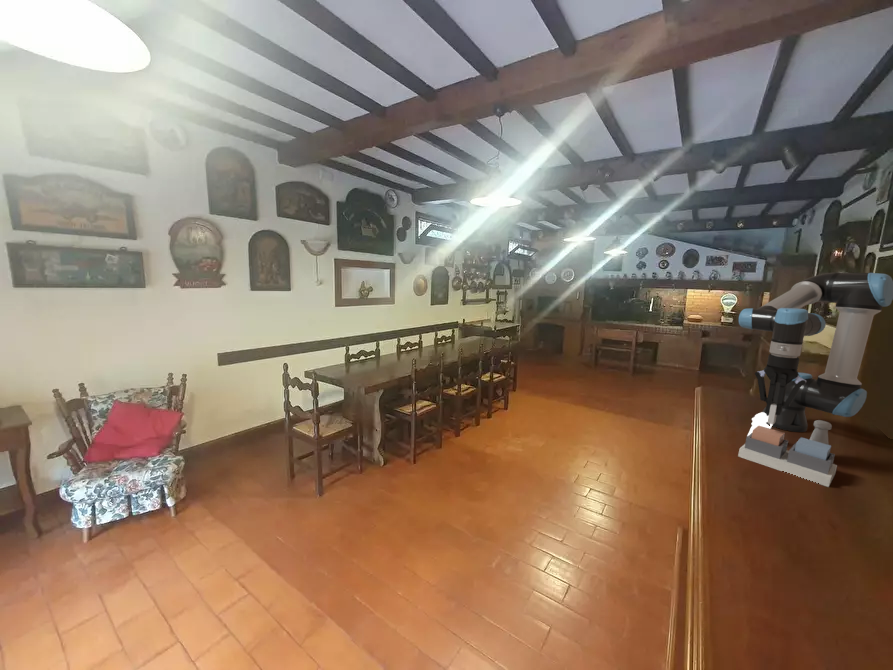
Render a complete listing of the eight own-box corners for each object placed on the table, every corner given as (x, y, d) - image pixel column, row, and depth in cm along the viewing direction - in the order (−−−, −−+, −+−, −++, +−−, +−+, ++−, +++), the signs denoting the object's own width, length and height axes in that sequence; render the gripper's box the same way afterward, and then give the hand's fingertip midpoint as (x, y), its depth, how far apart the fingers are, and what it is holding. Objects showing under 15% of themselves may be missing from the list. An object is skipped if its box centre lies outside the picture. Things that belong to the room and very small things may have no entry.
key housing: (749, 446, 134) (752, 428, 132) (835, 473, 116) (840, 453, 115) (738, 456, 126) (741, 437, 125) (828, 487, 109) (833, 465, 107)
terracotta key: (756, 438, 129) (758, 425, 129) (782, 446, 124) (784, 432, 123) (750, 443, 125) (752, 430, 124) (776, 451, 120) (779, 437, 119)
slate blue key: (797, 451, 121) (801, 437, 120) (827, 460, 115) (831, 445, 115) (793, 457, 117) (796, 442, 116) (824, 466, 111) (827, 451, 110)
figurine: (752, 437, 142) (757, 408, 140) (774, 445, 136) (780, 414, 134) (742, 440, 139) (747, 410, 137) (764, 448, 133) (770, 417, 131)
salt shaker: (832, 461, 125) (840, 425, 122) (812, 459, 126) (820, 423, 124) (818, 453, 130) (826, 419, 128) (800, 451, 131) (807, 417, 129)
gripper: (755, 352, 122) (744, 418, 126) (809, 360, 112) (794, 432, 116) (761, 350, 127) (750, 414, 131) (813, 357, 116) (799, 426, 121)
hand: (771, 422), depth 123 cm, fingers closed
